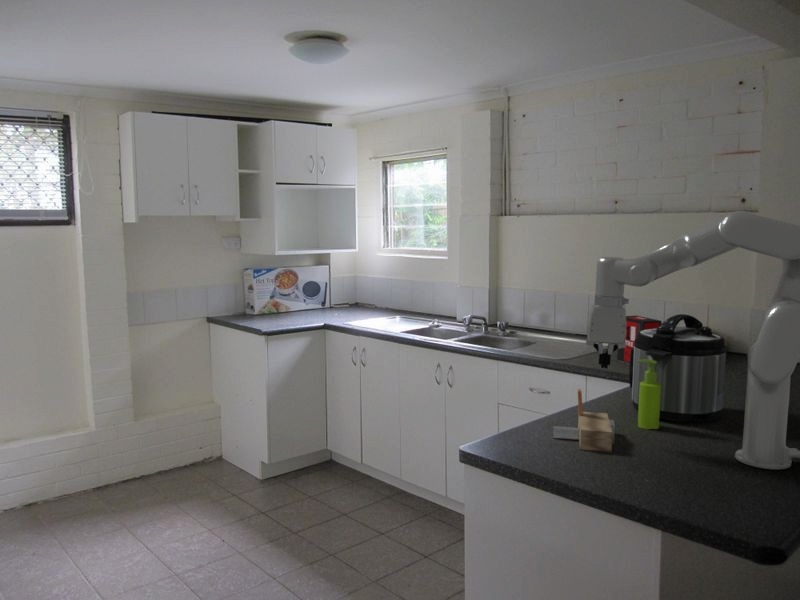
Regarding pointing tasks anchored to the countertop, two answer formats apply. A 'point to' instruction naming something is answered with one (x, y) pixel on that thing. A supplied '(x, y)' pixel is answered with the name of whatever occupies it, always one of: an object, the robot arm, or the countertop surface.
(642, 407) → the soap dispenser
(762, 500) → the countertop surface
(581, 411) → the bar
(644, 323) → the cleaning product box
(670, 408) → the pressure cooker
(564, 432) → the lynch pin
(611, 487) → the countertop surface
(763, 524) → the countertop surface
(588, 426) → the block
